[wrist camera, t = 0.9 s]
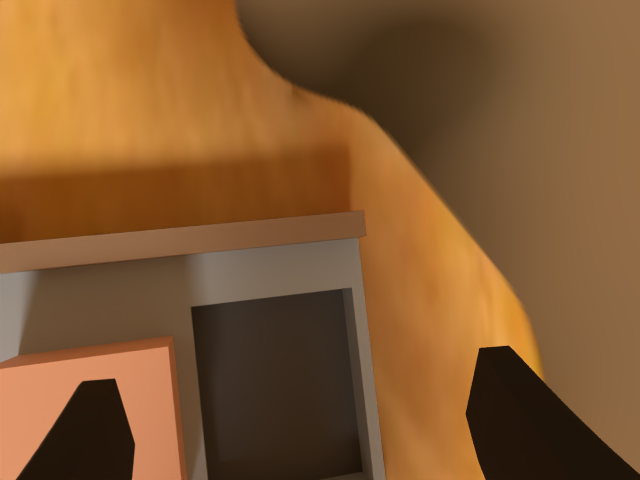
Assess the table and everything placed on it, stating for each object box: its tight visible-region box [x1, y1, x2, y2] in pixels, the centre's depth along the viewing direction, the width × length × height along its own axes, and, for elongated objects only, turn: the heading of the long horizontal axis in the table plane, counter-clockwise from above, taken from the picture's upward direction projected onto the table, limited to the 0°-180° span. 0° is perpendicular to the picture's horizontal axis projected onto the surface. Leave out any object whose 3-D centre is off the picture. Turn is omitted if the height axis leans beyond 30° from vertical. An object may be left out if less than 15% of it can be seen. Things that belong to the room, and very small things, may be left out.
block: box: [0, 335, 187, 480], centre depth 20 cm, size 6×6×4 cm
